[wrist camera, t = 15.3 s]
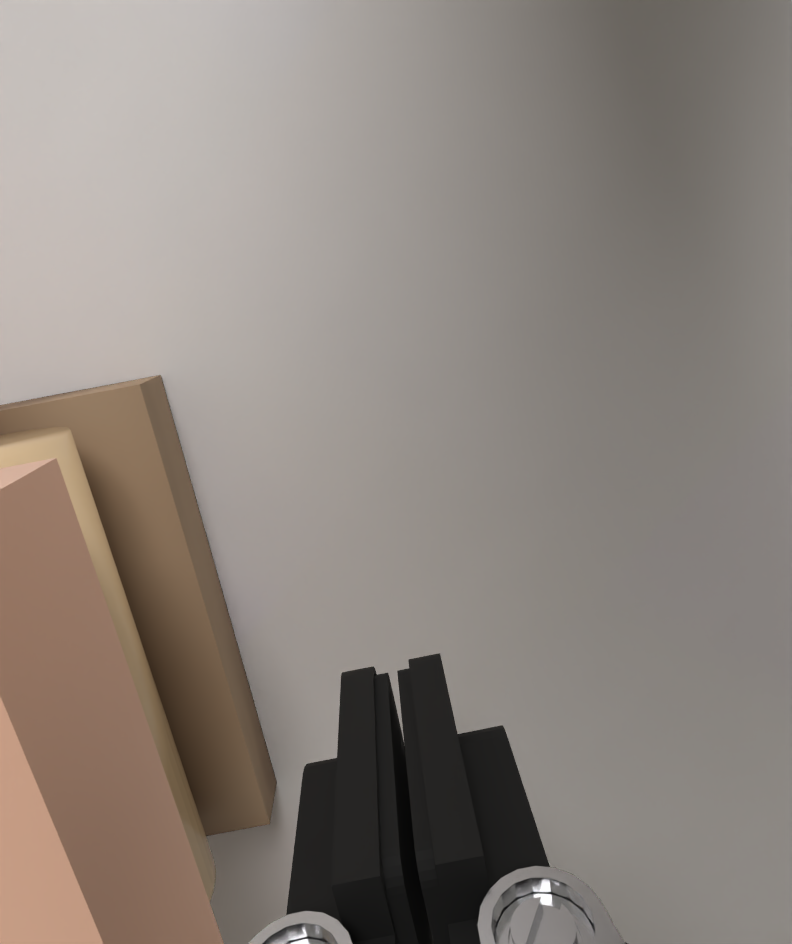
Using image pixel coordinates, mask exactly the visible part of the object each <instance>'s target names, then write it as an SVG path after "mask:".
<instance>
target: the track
mask: <svg viewBox="0 0 792 944" xmlns="http://www.w3.org/2000/svg"><path fill="white" fill-rule="evenodd" d="M49 427H68V428H70V430H71V433H72V436H73V439H74V442H75V445H76V448H77V451H78V454H79V457H80V460H81V463H82V466H83V469H84V472H85V475H86V478H87V481H88V484H89V487H90V490H91V493H92V496H93V499H94V502H95V505H96V508H97V511H98V514H99V517H100V520H101V523H102V526H103V529H104V532H105V535H106V538H107V541H108V544H109V547H110V550H111V553H112V556H113V559H114V562H115V565H116V568H117V571H118V574H119V577H120V580H121V583H122V586H123V589H124V592H125V595H126V598H127V601H128V604H129V607H130V610H131V613H132V616H133V619H134V622H135V625H136V628H137V631H138V634H139V637H140V640H141V643H142V646H143V649H144V652H145V655H146V658H147V661H148V664H149V667H150V670H151V673H152V676H153V679H154V682H155V685H156V688H157V691H158V694H159V697H160V700H161V703H162V706H163V709H164V712H165V715H166V718H167V721H168V724H169V727H170V730H171V733H172V736H173V739H174V742H175V745H176V748H177V751H178V754H179V757H180V760H181V763H182V766H183V769H184V772H185V775H186V778H187V781H188V784H189V787H190V790H191V793H192V796H193V799H194V802H195V805H196V808H197V811H198V814H199V817H200V820H201V823H202V826H203V829H204V832H205V835H206V836H209V835H214V834H219V833H225V832H230V831H235V830H241V829H246V828H251V827H256V826H262V825H267V824H270V819H271V813H272V807H273V801H274V795H275V789H276V783H277V782H276V778H275V775H274V771H273V768H272V764H271V761H270V757H269V754H268V750H267V747H266V743H265V740H264V736H263V733H262V729H261V726H260V722H259V719H258V715H257V712H256V708H255V705H254V701H253V698H252V694H251V691H250V687H249V684H248V680H247V677H246V673H245V670H244V666H243V663H242V659H241V656H240V652H239V649H238V645H237V642H236V638H235V635H234V631H233V628H232V624H231V621H230V617H229V614H228V610H227V607H226V603H225V600H224V596H223V593H222V589H221V586H220V582H219V579H218V575H217V572H216V568H215V565H214V561H213V558H212V554H211V551H210V547H209V543H208V540H207V536H206V533H205V529H204V526H203V522H202V519H201V515H200V512H199V508H198V505H197V501H196V498H195V494H194V491H193V487H192V484H191V480H190V477H189V473H188V470H187V466H186V463H185V459H184V456H183V452H182V449H181V445H180V442H179V438H178V435H177V431H176V428H175V424H174V421H173V417H172V414H171V410H170V407H169V403H168V400H167V396H166V393H165V389H164V386H163V382H162V379H161V375H159V376H153V377H148V378H143V379H137V380H132V381H127V382H122V383H116V384H111V385H106V386H100V387H95V388H90V389H84V390H79V391H74V392H68V393H63V394H58V395H52V396H47V397H42V398H37V399H31V400H26V401H21V402H15V403H10V404H5V405H0V435H4V434H9V433H14V432H20V431H26V430H32V429H40V428H49Z"/></svg>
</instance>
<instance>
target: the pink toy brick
mask: <svg viewBox="0 0 792 944" xmlns="http://www.w3.org/2000/svg"><path fill="white" fill-rule="evenodd" d="M215 880H216V868H215V862H214V859H213V856H212V853H211V850H210V847H209V844H208V841H207V838H206V835H205V832H204V829H203V826H202V823H201V820H200V817H199V814H198V811H197V808H196V805H195V802H194V799H193V796H192V793H191V790H190V787H189V784H188V781H187V778H186V775H185V772H184V769H183V766H182V763H181V760H180V757H179V754H178V751H177V748H176V745H175V742H174V739H173V736H172V733H171V730H170V727H169V724H168V721H167V718H166V715H165V712H164V709H163V706H162V703H161V700H160V697H159V694H158V691H157V688H156V685H155V682H154V679H153V676H152V673H151V670H150V667H149V664H148V661H147V658H146V655H145V652H144V649H143V646H142V643H141V640H140V637H139V634H138V631H137V628H136V625H135V622H134V619H133V616H132V613H131V610H130V607H129V604H128V601H127V598H126V595H125V592H124V589H123V586H122V583H121V580H120V577H119V574H118V571H117V568H116V565H115V562H114V559H113V556H112V553H111V550H110V547H109V544H108V541H107V538H106V535H105V532H104V529H103V526H102V523H101V520H100V517H99V514H98V511H97V508H96V505H95V502H94V499H93V496H92V493H91V490H90V487H89V484H88V481H87V478H86V475H85V472H84V469H83V466H82V463H81V460H80V457H79V454H78V451H77V448H76V445H75V442H74V439H73V436H72V433H71V430H70V428H68V427H49V428H40V429H32V430H26V431H20V432H14V433H9V434H4V435H0V944H224V943H223V940H222V937H221V934H220V931H219V928H218V926H217V923H216V920H215V917H214V914H213V911H212V908H211V905H210V901H211V898H212V894H213V891H214V886H215Z"/></svg>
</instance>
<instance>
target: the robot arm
mask: <svg viewBox="0 0 792 944" xmlns="http://www.w3.org/2000/svg"><path fill="white" fill-rule="evenodd" d="M398 682H399V692H400V702H401V713H402V723H403V733H404V741H403V737H402V732H401V728H400V723H399V719H398V714H397V710H396V705H395V701H394V696H393V692H392V687H391V683H390V679H389V675H388V673H384V674H379V675H377V674H376V671H375V668H374V667H368V668H363V669H358V670H353V671H348V672H343V673H342V675H341V692H340V712H339V733H338V753H337V758H335V759H330V760H325V761H319V762H314V763H309V764H306V766H305V767H304V772H303V778H302V787H301V795H300V804H299V812H298V821H297V829H296V838H295V846H294V855H293V863H292V871H291V880H290V888H289V897H288V905H287V914H286V916H284V917H282V918H280V919H278V920H276V921H274V922H272V923H270V924H269V925H267V926H266V927H265V928H264V929H263V930H261V931H260V932H259V933H258V934H257V935H255V936H254V937H253V938H252V940H251V941H250V942H249V943H248V944H627V943H625V942H624V940H623V939H622V937H621V935H620V933H619V932H618V930H617V928H616V926H615V925H614V923H613V921H612V919H611V918H610V916H609V914H608V912H607V911H606V909H605V907H604V905H603V904H602V902H601V901H600V899H599V898H598V897H597V895H596V894H595V893H594V892H593V890H592V889H591V888H590V887H589V886H588V885H587V884H586V883H584V882H583V881H581V880H580V879H579V878H577V877H576V876H575V875H573V874H571V873H568V872H565V871H563V870H560V869H557V868H554V867H550V866H549V863H548V860H547V857H546V854H545V851H544V848H543V845H542V842H541V839H540V836H539V833H538V830H537V827H536V823H535V820H534V817H533V814H532V811H531V808H530V805H529V802H528V799H527V796H526V793H525V790H524V787H523V784H522V781H521V778H520V775H519V771H518V768H517V765H516V762H515V759H514V756H513V753H512V750H511V747H510V744H509V741H508V738H507V735H506V732H505V729H504V727H503V726H497V727H492V728H487V729H482V730H477V731H472V732H467V733H462V734H457V730H456V726H455V721H454V716H453V712H452V707H451V703H450V698H449V693H448V689H447V684H446V679H445V675H444V670H443V666H442V661H441V656H440V654H435V655H429V656H424V657H419V658H414V659H409V669H404V670H399V671H398ZM404 744H405V746H404Z"/></svg>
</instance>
